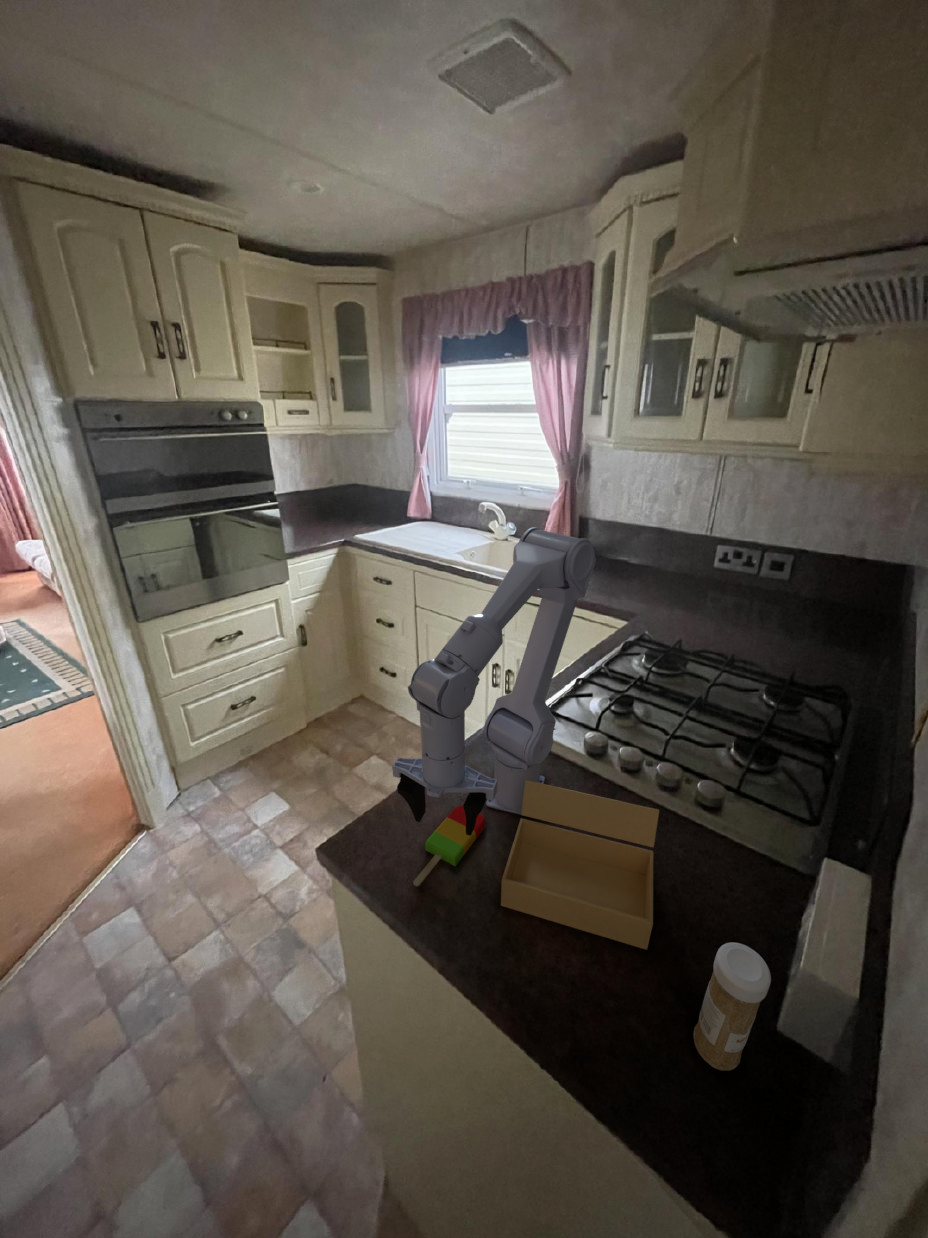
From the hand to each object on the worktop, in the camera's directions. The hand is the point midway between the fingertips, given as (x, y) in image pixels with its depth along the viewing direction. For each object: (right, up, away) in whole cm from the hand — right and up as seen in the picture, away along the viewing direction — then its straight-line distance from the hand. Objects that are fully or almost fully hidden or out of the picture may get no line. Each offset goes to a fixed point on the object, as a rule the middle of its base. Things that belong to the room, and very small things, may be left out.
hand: (445, 823), depth 73 cm
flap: (+20, +2, -2) cm, 20 cm away
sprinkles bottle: (+29, -15, -20) cm, 38 cm away
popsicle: (0, -5, +2) cm, 6 cm away
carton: (+18, -8, -4) cm, 20 cm away
